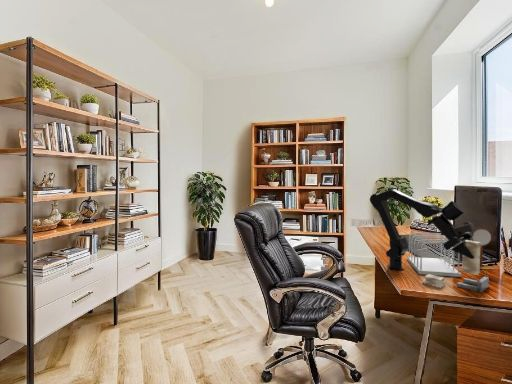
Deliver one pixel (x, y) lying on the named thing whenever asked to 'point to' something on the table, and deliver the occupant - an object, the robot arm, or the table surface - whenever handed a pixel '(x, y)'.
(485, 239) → the magnifying glass
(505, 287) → the table surface
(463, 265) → the cream upright block
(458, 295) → the table surface
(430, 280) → the offcut stack
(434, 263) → the file sorter
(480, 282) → the rack
